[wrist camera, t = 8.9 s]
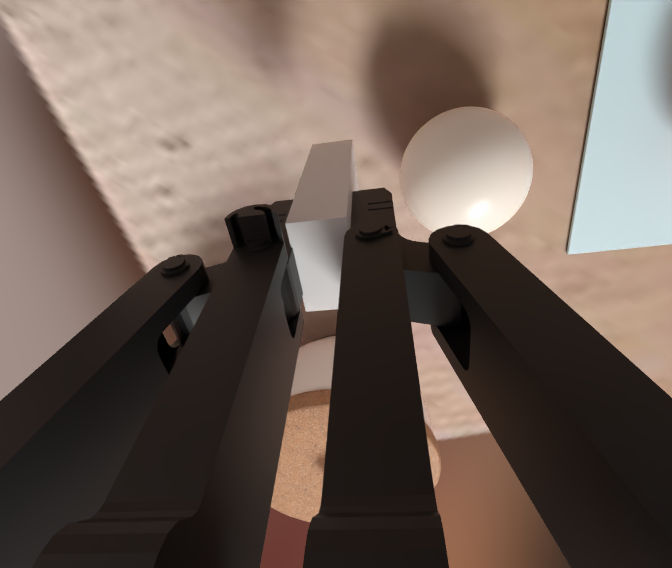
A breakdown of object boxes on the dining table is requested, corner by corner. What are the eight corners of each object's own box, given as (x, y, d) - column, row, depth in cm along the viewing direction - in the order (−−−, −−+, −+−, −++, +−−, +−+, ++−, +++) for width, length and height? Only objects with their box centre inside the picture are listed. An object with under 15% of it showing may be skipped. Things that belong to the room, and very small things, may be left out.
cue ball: (567, 156, 14) (550, 105, 18) (408, 118, 15) (426, 77, 19) (503, 277, 18) (500, 212, 22) (377, 243, 18) (397, 186, 23)
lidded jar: (328, 439, 33) (320, 574, 25) (231, 355, 28) (184, 487, 21) (451, 383, 29) (487, 521, 21) (361, 276, 25) (363, 400, 17)
